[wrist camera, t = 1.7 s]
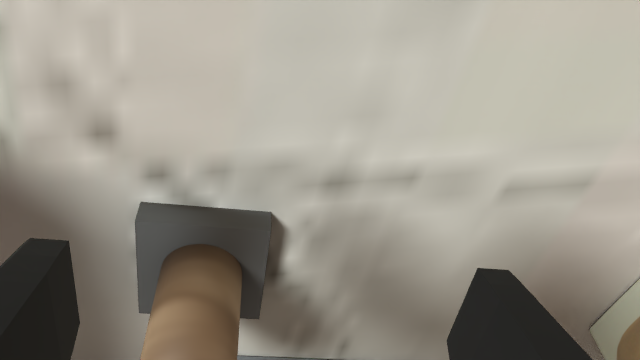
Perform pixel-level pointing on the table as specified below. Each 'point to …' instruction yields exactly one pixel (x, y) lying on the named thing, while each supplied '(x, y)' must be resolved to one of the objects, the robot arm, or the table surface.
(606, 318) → the skincare box
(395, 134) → the table surface
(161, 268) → the stamp
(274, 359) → the marked square
